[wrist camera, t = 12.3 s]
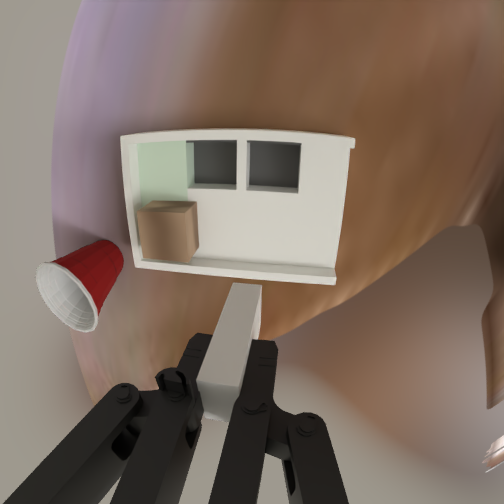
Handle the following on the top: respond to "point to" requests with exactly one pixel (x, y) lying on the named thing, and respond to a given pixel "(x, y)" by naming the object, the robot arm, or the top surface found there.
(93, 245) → the plastic cup
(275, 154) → the box
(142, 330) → the top surface
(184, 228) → the walnut block
